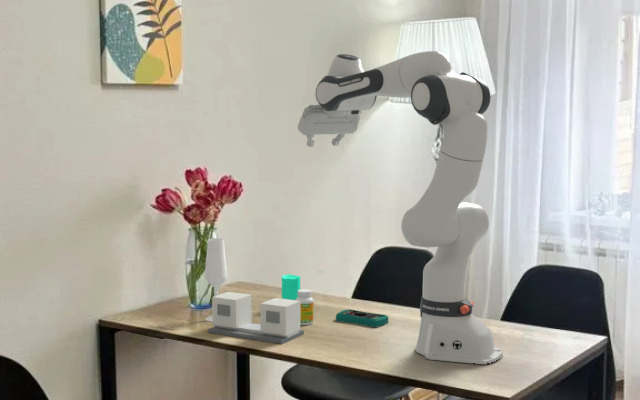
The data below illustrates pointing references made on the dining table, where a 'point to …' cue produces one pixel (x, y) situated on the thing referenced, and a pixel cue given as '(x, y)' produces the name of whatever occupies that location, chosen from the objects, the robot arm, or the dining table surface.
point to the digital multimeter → (362, 318)
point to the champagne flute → (215, 265)
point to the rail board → (237, 316)
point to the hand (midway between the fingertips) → (322, 145)
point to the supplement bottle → (305, 306)
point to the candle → (290, 286)
